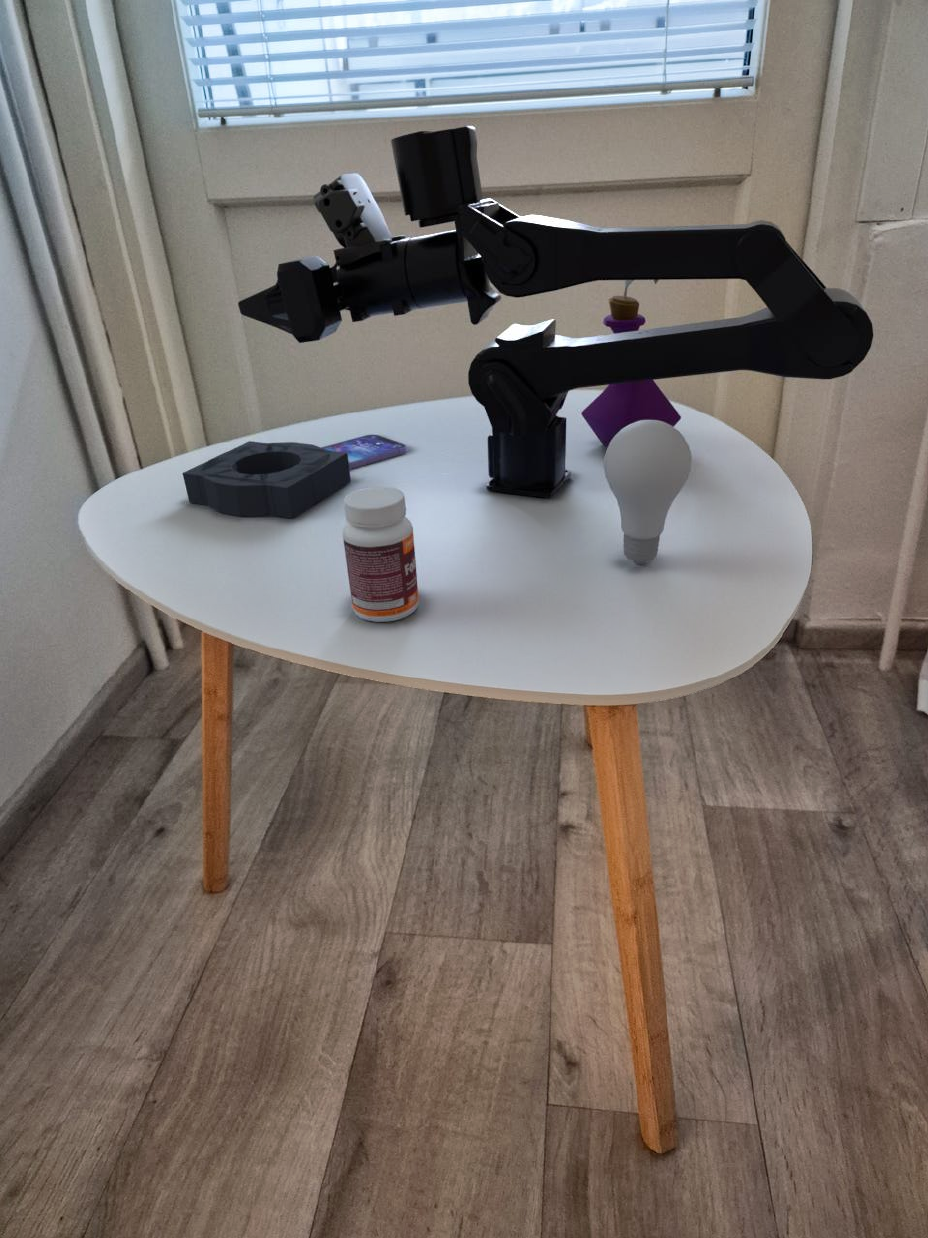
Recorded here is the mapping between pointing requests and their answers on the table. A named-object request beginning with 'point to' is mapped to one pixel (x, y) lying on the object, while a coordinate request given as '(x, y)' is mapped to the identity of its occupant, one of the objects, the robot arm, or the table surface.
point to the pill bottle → (380, 554)
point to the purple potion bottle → (627, 384)
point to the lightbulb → (646, 481)
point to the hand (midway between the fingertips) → (265, 299)
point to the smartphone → (368, 449)
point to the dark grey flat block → (267, 479)
